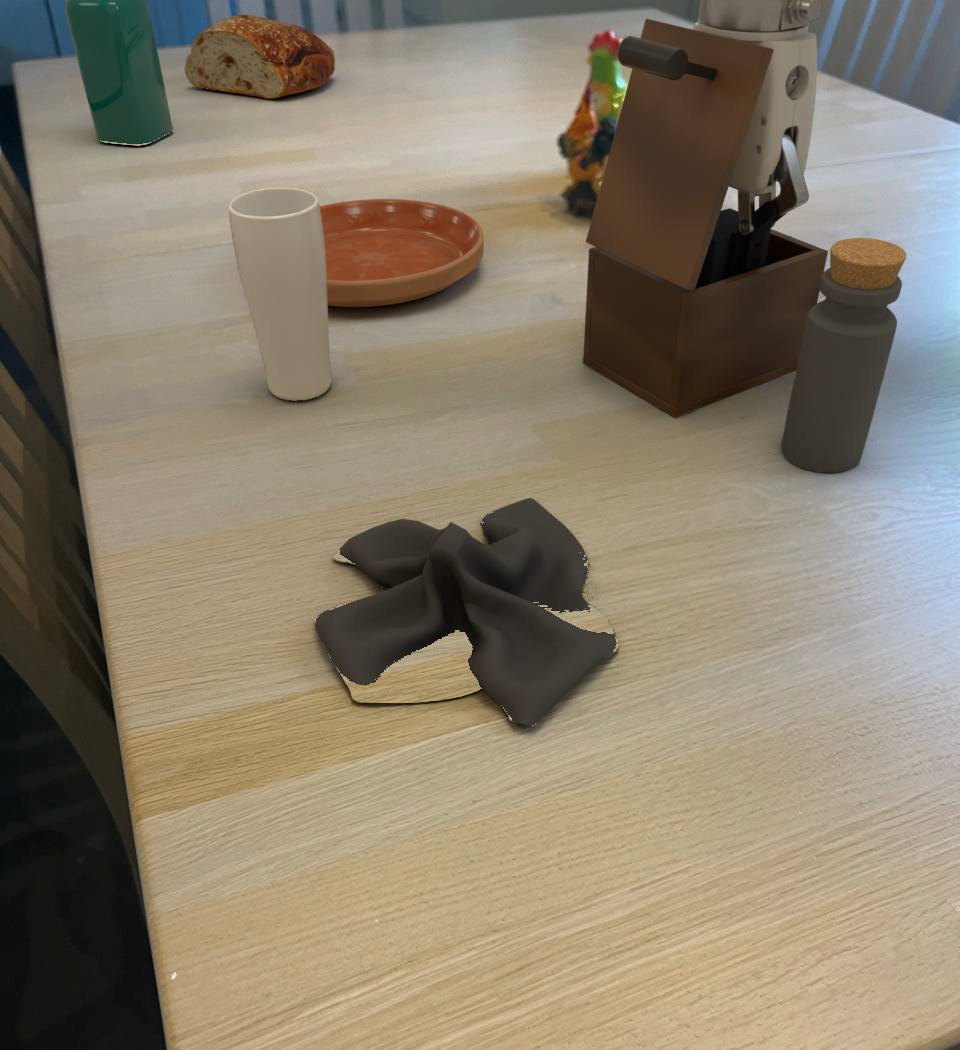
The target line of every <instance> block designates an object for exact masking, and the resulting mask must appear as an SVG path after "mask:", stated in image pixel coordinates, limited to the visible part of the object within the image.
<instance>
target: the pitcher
mask: <svg viewBox="0 0 960 1050" xmlns="http://www.w3.org/2000/svg"><path fill="white" fill-rule="evenodd" d="M64 11H65V15H66V20H67V23H68V27H69V31H70V35H71V39H72V43H73V47H74V51H75V56H76V59H77V60H76V61H77V65H78V67H79V71H80V75H81V79H82V84H83V88H84V92H85V96H86V99H87V103H88V108H89V112H90V116H91V120H92V124H93V127H94V131H95V136H96V139H97V140H98V141H99V140H101V141H108V142H117V143H127V144H143V143H149V142H153V141H154V140H157V139H158V138H161V137H163V136H164V135H166V134H168V133H170V132H172V133H173V131H174V126H173V120H172V116H171V112H170V107H169V101H168V96H167V92H166V86H165V82H164V76H163V71H162V68H161V66H162V65H161V62H160V56H159V53H158V47H157V42H156V37H155V33H154V27H153V22H152V16H151V12H150V7H149V3H148V1H147V0H66V1H65V6H64ZM172 130H173V131H172Z"/></svg>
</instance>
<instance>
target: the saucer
mask: <svg viewBox="0 0 960 1050" xmlns="http://www.w3.org/2000/svg"><path fill="white" fill-rule="evenodd" d="M319 206H320V211H321V217H322V224H323V231H324V239H325V250H326V266H327V298H328V306H331V307H343V308H366V307H369V308H371V307H381V306H382V307H383V306H390V305H396V304H403V303H406V302H411V301H414V300H419V299H422V298H425V297H429V296H432V295H434V294H436V293H439V292H441V291H443V290H445V289H447V288H449V287H451V286H452V285H454V284H455V283H456V282H457V281H459V280H461V279H462V278H464V277H466V276H467V275H469V274H470V273H471V272H472V271H474V270H475V268H477V267H478V265H480V262H481V260H482V258H483V257H484V256H483V255H484V236H485V235H484V230H483V227H482V226H481V224H480V223H479V222H478V221H477V220H476V219H475V218H474V217H472V216H471V215H470V214H467V213H465V211H461V210H459V209H456V208H453V207H450V206H447V205H443V204H440V203H436V202H430V201H422V200H416V199H415V200H413V199H403V198H402V199H401V198H371V199H370V198H368V199H357V200H356V199H355V200H348V201H339V202H334V203H329V204H324V205H319Z"/></svg>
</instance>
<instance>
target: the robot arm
mask: <svg viewBox="0 0 960 1050" xmlns="http://www.w3.org/2000/svg"><path fill="white" fill-rule="evenodd" d="M822 8H823V1H822V0H699V9H698V19H697V21H696V22H695V23H693V26H692V29H693V30H697V31H701V32H705V33H710V34H714V35H718V36H722V37H726V38H731V39H735V40H739V41H743V42H747V43H752V44H756V45H760V46H764V47H768V48H771V49H774V51H773V54H772V58H771V61H770V64H769V67H768V70H767V73H766V76H765V79H764V82H763V85H762V88H761V91H760V94H759V97H758V100H757V103H756V106H755V109H754V112H753V115H752V118H751V121H750V124H749V127H748V130H747V133H746V136H745V139H744V142H743V145H742V148H741V151H740V154H739V157H738V160H737V163H736V166H735V169H734V172H733V175H732V178H731V181H730V184H729V187H728V188H732V189H733V190H734V189H735V190H737V211H738V228H739V231H735V232H732V234H731V242H730V249H729V255H728V262H727V269H726V275H725V279H728V278H731V277H734V276H737V275H740V274H743V273H746V272H749V271H752V270H755V269H758V268H760V264H761V258H762V252H763V247H764V241H765V235H766V230H767V229H768V228H771V229H772V228H773V227H774V226H775V225H776V223H777V222H778V221H779V220H781V219H782V218H783V217H784V216H786V215H787V214H788V213H789V212H792V211H793V210H795V209H798V208H799V207H801V206H802V205H805V204H806V203H808V201H809V199H810V193H809V190H808V187H807V186H808V185H807V182H806V179H805V176H804V175H805V172H806V167H807V163H808V158H809V151H810V147H811V146H810V145H811V138H812V131H813V123H814V115H815V105H816V97H817V96H816V95H817V82H818V81H817V79H818V41H817V33H813V32H810V31H809V26H810V22H813V21H815V20H816V19H818V18H819V16H820V14H821V12H822ZM777 182H778V183H779V188H780V191H779V194H778V195H777ZM756 197H758V208H756Z"/></svg>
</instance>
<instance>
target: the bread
mask: <svg viewBox="0 0 960 1050" xmlns="http://www.w3.org/2000/svg"><path fill="white" fill-rule="evenodd" d="M335 70H336V56H335V52H334V50H333V48H332V47H330V46H329V45H328V44H327V43H326V42H325V41H324V40H323V39H321V38H320V37H319V36H317V35H316V34H315V33H313V32H311V31H309V30H308V29H306V28H305V27H301V26H299V25H296V24H293V23H288V22H284V21H278V20H275V19H270V18H267V17H261V16H258V15H257V16H256V15H250V14H236V15H233V16H229V17H227V18H223V19H221V20H220V21H218V22H216V23H215V24H214V25H212V26H211V27H209V28H207V29H205V30H202V32H199V34H198V35H197V36H196V37H195V39H194V41H192V44H191V47H190V53H189V54H188V55H187V57H186V59H185V64H184V75H185V76H186V79H187V80H188V81H189V83H190V84H191V85H192V86H193V87H195V86H196V87H195V88H198V87H203V88H208V89H213V90H212V91H215V90H219V91H218V92H227V93H231V94H237V93H238V95H246V96H253V97H258V98H264V99H278V98H282V97H286V96H289V95H295V94H300V93H304V92H308V91H311V90H315V89H317V88H319V87H321V86H324V85H325V84H326V83H327V82H328V81H329V78H330V77H331V76H332V75H333V74H334V71H335ZM208 89H207V90H208Z"/></svg>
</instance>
